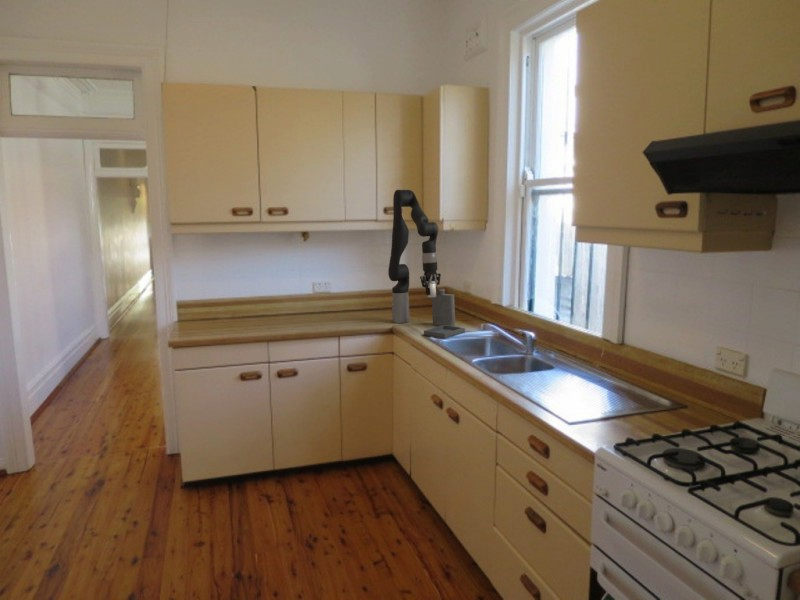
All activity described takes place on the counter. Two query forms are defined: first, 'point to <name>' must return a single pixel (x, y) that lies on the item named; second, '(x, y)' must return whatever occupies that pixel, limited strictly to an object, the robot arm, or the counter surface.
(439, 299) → the hip flask
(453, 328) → the tray
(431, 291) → the shaker
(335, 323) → the counter surface
